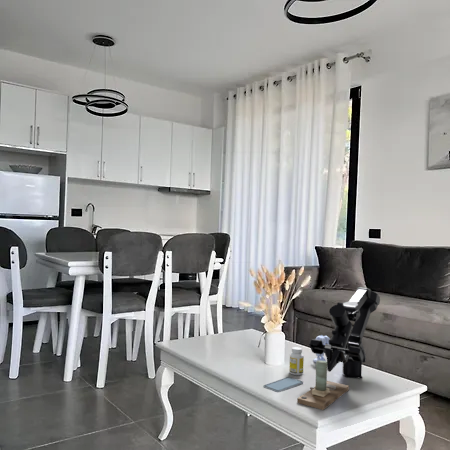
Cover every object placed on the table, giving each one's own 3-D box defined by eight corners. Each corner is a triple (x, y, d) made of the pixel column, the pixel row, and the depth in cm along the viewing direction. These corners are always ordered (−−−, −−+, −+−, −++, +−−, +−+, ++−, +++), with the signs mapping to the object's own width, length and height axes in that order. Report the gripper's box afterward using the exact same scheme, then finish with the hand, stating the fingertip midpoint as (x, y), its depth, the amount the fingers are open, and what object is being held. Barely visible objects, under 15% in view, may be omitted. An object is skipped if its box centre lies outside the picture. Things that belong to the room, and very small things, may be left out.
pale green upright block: (313, 388, 158) (314, 358, 158) (329, 392, 155) (330, 361, 155) (307, 392, 154) (308, 361, 154) (323, 397, 151) (324, 365, 151)
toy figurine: (320, 359, 202) (321, 331, 202) (331, 363, 196) (332, 335, 196) (309, 361, 198) (310, 333, 198) (319, 365, 193) (320, 336, 193)
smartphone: (262, 385, 164) (288, 376, 174) (262, 388, 164) (288, 379, 174) (278, 391, 158) (304, 381, 169) (278, 394, 158) (304, 384, 169)
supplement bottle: (301, 371, 183) (302, 346, 183) (304, 375, 178) (305, 350, 178) (288, 370, 183) (289, 346, 183) (290, 375, 178) (291, 349, 178)
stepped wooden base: (325, 384, 169) (325, 377, 169) (348, 389, 164) (349, 383, 164) (297, 402, 149) (297, 395, 149) (323, 409, 144) (323, 402, 144)
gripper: (370, 351, 168) (360, 389, 159) (322, 342, 178) (309, 377, 169) (365, 333, 161) (353, 371, 152) (315, 325, 172) (301, 360, 163)
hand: (328, 370), depth 159 cm, fingers closed
